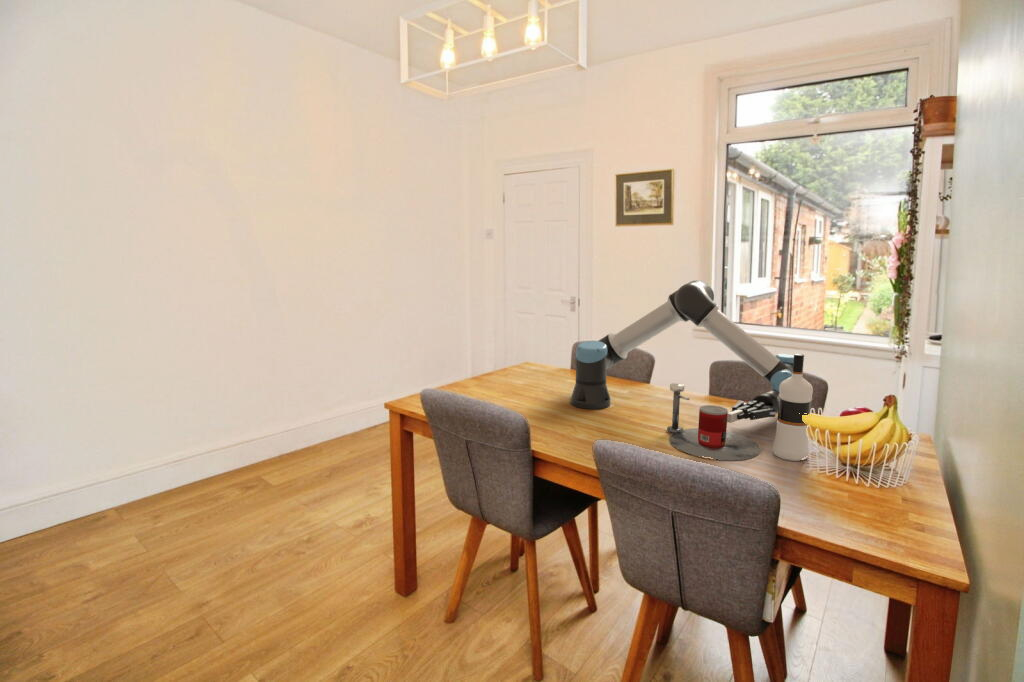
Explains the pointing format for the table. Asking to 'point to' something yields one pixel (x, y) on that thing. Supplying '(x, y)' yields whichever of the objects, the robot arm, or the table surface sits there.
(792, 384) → the vodka
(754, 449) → the turntable
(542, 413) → the table surface
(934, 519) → the table surface
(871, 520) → the table surface
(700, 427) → the canned food
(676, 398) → the faucet
